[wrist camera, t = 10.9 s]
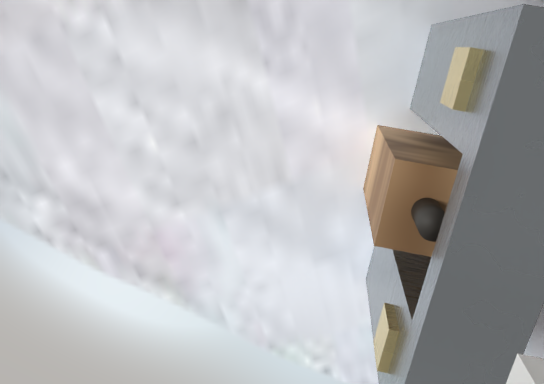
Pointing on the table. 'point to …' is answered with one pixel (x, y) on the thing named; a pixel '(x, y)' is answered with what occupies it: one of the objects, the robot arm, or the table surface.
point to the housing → (472, 211)
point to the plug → (409, 188)
